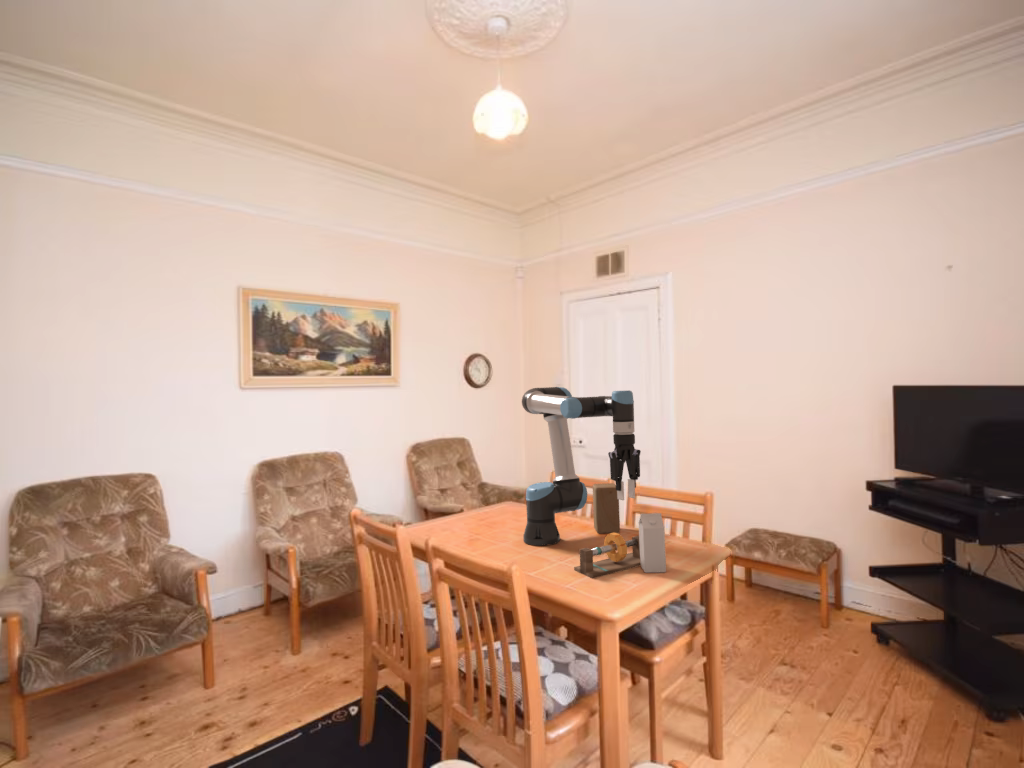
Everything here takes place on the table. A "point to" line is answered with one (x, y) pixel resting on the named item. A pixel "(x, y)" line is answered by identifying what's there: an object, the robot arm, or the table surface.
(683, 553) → the table surface
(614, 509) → the wooden block
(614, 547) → the pipe
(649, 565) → the milk carton
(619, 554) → the ring
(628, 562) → the rack
